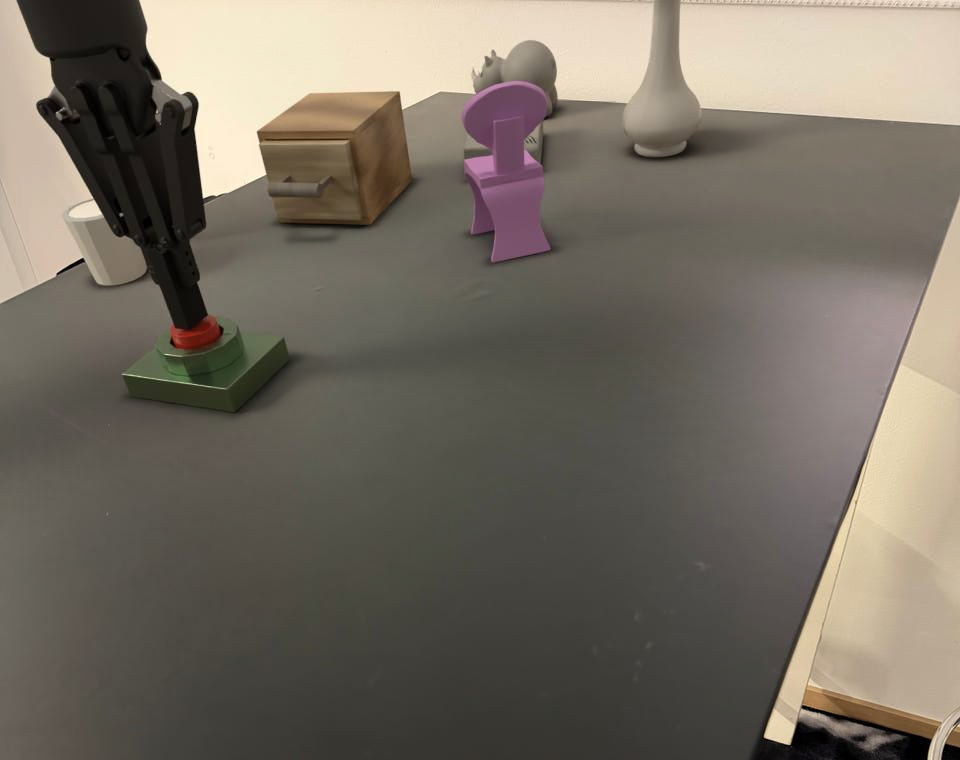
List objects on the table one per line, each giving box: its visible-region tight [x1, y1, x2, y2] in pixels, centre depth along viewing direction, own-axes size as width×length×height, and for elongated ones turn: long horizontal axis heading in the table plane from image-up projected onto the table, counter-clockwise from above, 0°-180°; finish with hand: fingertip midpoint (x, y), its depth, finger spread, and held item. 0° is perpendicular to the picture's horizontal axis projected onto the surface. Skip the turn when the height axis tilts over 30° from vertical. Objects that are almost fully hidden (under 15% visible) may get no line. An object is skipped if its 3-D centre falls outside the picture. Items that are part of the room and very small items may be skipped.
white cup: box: [61, 198, 148, 286], centre depth 93 cm, size 7×7×7 cm
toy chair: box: [461, 81, 552, 263], centre depth 86 cm, size 8×9×15 cm
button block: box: [121, 315, 291, 413], centre depth 75 cm, size 11×9×4 cm
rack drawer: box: [258, 139, 364, 220], centre depth 98 cm, size 17×10×8 cm, turn 162°
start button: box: [169, 313, 222, 349], centre depth 74 cm, size 4×4×2 cm
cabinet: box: [256, 90, 413, 226], centre depth 101 cm, size 14×12×10 cm
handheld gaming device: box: [463, 120, 544, 164], centre depth 108 cm, size 9×15×4 cm, turn 175°
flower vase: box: [621, 0, 703, 158], centre depth 97 cm, size 13×18×25 cm
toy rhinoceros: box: [470, 39, 559, 118], centre depth 118 cm, size 7×12×8 cm, turn 72°
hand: (191, 321), depth 73 cm, fingers closed
